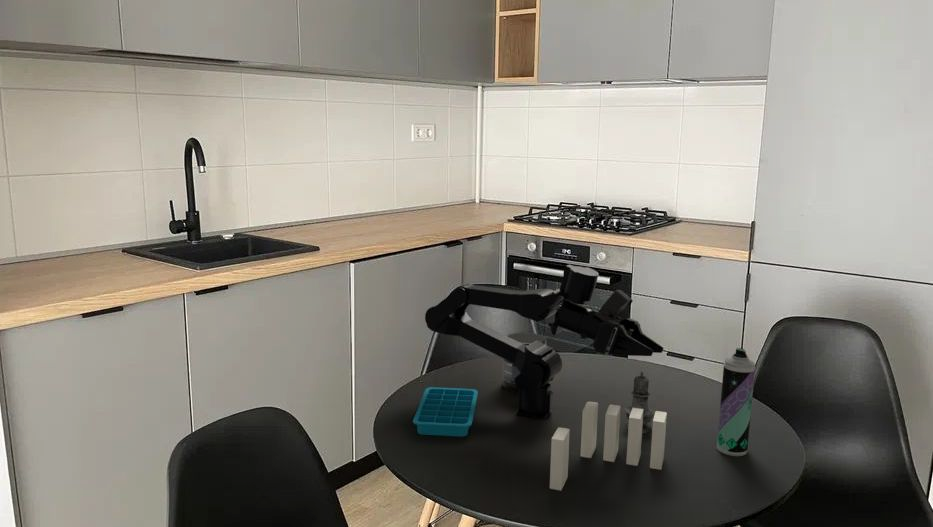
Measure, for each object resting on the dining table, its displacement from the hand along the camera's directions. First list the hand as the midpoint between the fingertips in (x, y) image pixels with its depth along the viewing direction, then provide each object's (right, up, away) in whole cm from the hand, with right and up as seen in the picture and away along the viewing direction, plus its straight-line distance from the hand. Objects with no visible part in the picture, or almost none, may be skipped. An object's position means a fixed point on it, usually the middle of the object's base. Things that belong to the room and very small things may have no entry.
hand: (657, 351), depth 138 cm
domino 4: (-6, -19, -5) cm, 21 cm away
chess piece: (-2, -17, +9) cm, 19 cm away
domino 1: (-21, -21, -15) cm, 33 cm away
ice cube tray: (-41, -16, +13) cm, 46 cm away
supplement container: (-23, -12, +31) cm, 41 cm away
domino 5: (-2, -19, -7) cm, 21 cm away
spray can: (+14, -19, -1) cm, 23 cm away
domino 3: (-10, -19, -4) cm, 22 cm away
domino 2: (-14, -19, -3) cm, 23 cm away
